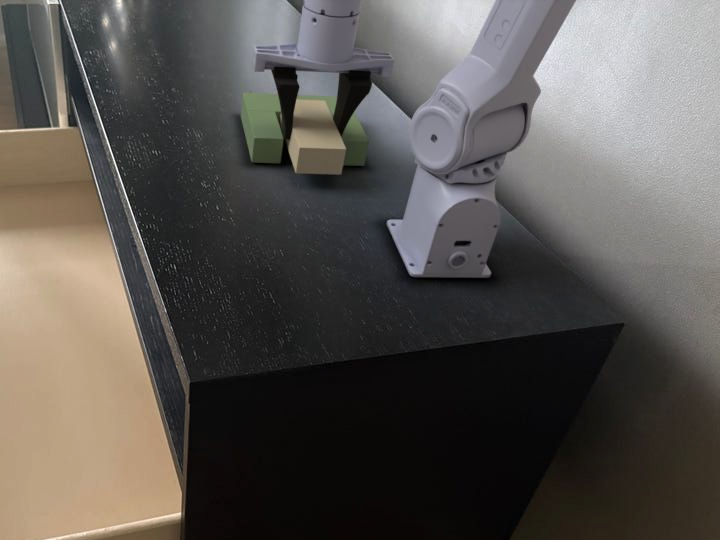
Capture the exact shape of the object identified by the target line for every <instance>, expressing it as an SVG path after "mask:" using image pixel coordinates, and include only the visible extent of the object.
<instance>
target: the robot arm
mask: <svg viewBox="0 0 720 540" xmlns="http://www.w3.org/2000/svg"><path fill="white" fill-rule="evenodd" d="M302 1H303V2H302V10H301V16H300V24H299V32H298V39H297V40H298V41H297V43H285V44H276V45H253V49H252V61H251V65H252V69H253V71H254V72H257V73H264V72H265V70H266V71H268V70H269V71H271V74H272V77H273V80H274V84H275V87H276V92H277V94H278V97H279V101H280V107H281V115H282V134H283V138H284V140H285V139H286V140H290V138H291V134H292V128H293V116H294V109H295V104H296V99H297V95H299V91H300V84H299V82H298V76H299V75H298V74H297V72H308V73H309V72H311V73H312V72H313V73H331V74H333V73H334V74H338V84H337V85H338V86H337V93H336V96H337V101H336V107H335V111H334V116H333V120H334V122H335V125H336V127H337V129H338V131H339V134H340V136H341V137H342V135H343V132H344V130H345V128H346V126H347V124H348V122H349V120H350V118H351V116H352V115H353V113H354V112H356V110H357V109H358V108H359V105H360V104H361V103H362V102H363V101H364V99H365V98H366V97H368V95H369V94H370V92H371V90H372V87H373V82H372V79H371V77H372V76H371V75H374V76H375V75H376V76H377V75H378V76H379V77H381V78H389V79H390V78H392V73H393V67H394V64H395V58H394V57H393V55H392V54H391V52H385V51H377V50H369V49H364V48H359V47H355V43H356V42H355V41H356V37H357V31H358V26H359V21H360V15H361V10H362V3H363V0H302ZM576 1H577V0H495V1H494V2H493V4H492V7H491V9H490V11H489V13H488V15H487V17H486V19H485V22H484V23H483V26H482V28H481V29H480V31H479V34H478V36H477V38H476V40H475V42H474V44H473V46H472V48H471V50H470V53H469V54H468V55H467V56H465V58H464V59H463V60H462V61H460V62H458V64H457V65H456V66H455V67H453V68H452V69H451V70H450V71H449V72H448V73H447V74H446V75H444V76H443V77H442V79H440V80H439V81H438V84H437V86H436V88H435V90H434V92H433V94H432V95H431V96H430V98H428V100H427V101H425V102H424V103H422V104H421V105H420V106H419V107H418V108H417V109H416V110H415V112H414V114H413V116H412V117H411V120H410V124H409V130H408V135H409V136H408V137H409V139H408V140H409V145H410V150H411V152H412V154H413V157H414V158H415V159H414V164H416V169H415V172H414V177H413V180H412V184H411V187H410V191H409V195H408V198H407V202H406V206H405V210H404V214H403V218H402V219H389V220H386V221H387V222H386V227H387V228H388V231H389V233H390V235H391V236H392V240H393V242H394V244H395V246H396V248H397V250H398V253H399V255H400V257H401V259H402V263H403V264H404V266H405V268H406V270H407V272H408V274H409V276H410V277H413V278H451V279H452V278H460V279H461V278H463V279H465V278H467V279H468V278H469V279H474V278H476V279H488V278H490V277H491V275H492V271H491V269H490V268H489V266H488V265H487V261H488V259H489V256H490V254H491V251H492V248H493V245H494V243H495V240H496V236H497V234H498V230H499V229H500V226H501V220H502V215H501V211H500V208H499V204H498V203H497V199H496V193H495V192H496V184H497V180H498V175H499V173H500V170H501V167H502V166H504V163H505V161H506V157H507V155H508V154H509V153H511V152H513V151H515V150H516V149H518V148H519V147H520V146H522V144H523V143H524V142H525V141H526V139H527V136H528V135H529V132H530V128H531V124H532V123H531V121H532V114H533V108H534V106H535V104H536V102H537V100H538V98H539V97H540V95H541V93H542V90H541V87H540V85H539V83H538V81H537V80H536V78H535V74H536V72H537V70H538V68H539V67H540V65H541V63H542V61H543V59H544V58H545V56H546V55H547V52H548V51H549V49H550V47H551V45H552V44H553V42H554V40H555V38H556V37H557V35H558V33H559V31H560V30H561V28H562V26H563V24H564V23H565V21H566V19H567V17H568V15H569V14H570V12H571V10H572V9H573V7H574V5H575V3H576Z"/></svg>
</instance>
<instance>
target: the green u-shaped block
mask: <svg viewBox="0 0 720 540" xmlns="http://www.w3.org/2000/svg"><path fill="white" fill-rule="evenodd" d="M241 96H242V97H241V105H240V107H241V108H240V120H241V123H242V124H241V125H242V128H243V132H244V136H245V141H246V144H247V148H248V153H249V157H250V161H251V163H255V164H256V163H257V164H258V163H259V164H281V162H282V155H283V148H284V141H285V139H284V137H283V134H282V129H281V126H280V117H281V107H280V101H279V97H278V93H266V92H265V93H261V92H242V95H241ZM297 99H298V100H322V101H325V102H326V104H327V106H328V109H329V111H330V113H331V115H332V118H333V116H334V111H335V107H336V101H337V95H336V96H335V95H311V94H298V95H297ZM341 138H342V140H343V143H344V145H345V147H346V153H345V158H344V163H343V166H354V167H356V166H358V167H364V166H365V164H366V159H367V154H368V149H369V145H370V141H369V138H368V136H367V134H366V132H365V130H364V128H363V126H362V124H361V121H360V120H359V118H358V116H357V114H356V111H354V113H353V115H352V116H351V118H350V120H349V122H348V124H347V126H346V128H345V130H344V132H343V135H342V137H341Z"/></svg>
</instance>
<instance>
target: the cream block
mask: <svg viewBox="0 0 720 540" xmlns="http://www.w3.org/2000/svg"><path fill="white" fill-rule="evenodd" d="M280 126H281V129H282V115H281V117H280ZM284 141H285V145H286V147H287V150H288V154H289V157H290V161H291V162H292V167H293V169H294V173H295V174H300V175H301V174H302V175H303V174H304V175H306V174H307V175H342V173H343V168H344V165H343V163H344V158H345V153H346V147H345V145H344V143H343V140H342V138H341V136H340V134H339V131H338V129H337V127H336V125H335V122H334V120H333V118H332V115H331V113H330V111H329V109H328V106H327V104H326V102H325V101H322V100H298V99H296V104H295V109H294V116H293V128H292V134H291V138H290V140H286V139H284Z"/></svg>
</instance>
